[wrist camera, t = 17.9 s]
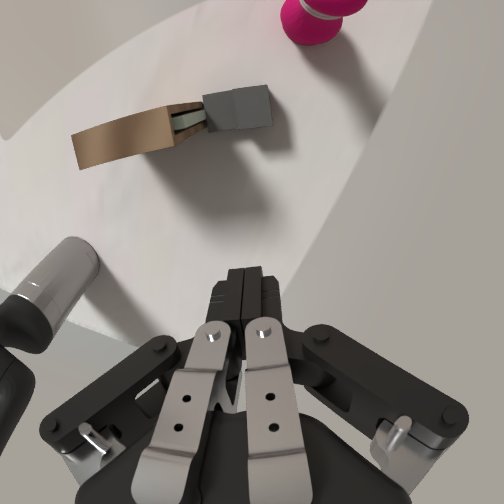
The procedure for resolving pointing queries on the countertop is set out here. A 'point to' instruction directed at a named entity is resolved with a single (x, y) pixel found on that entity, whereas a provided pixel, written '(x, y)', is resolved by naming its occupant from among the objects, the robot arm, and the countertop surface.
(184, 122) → the sliding door
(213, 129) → the block
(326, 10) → the pepper mill
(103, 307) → the countertop surface
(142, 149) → the brown upright flat box
